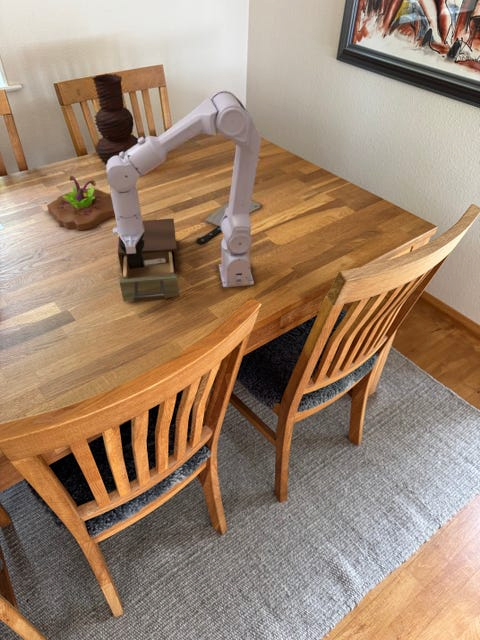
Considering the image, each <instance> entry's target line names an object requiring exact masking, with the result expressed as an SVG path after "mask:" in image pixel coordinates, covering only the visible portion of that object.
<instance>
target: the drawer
mask: <svg viewBox="0 0 480 640" xmlns="http://www.w3.org/2000/svg"><path fill="white" fill-rule="evenodd" d="M142 255H143V259H144V261H146V260H154V259H161V258H164V259H165V260H166V262H165V263H164V264H158V265H150V266H144V267H141V268H134V269H129V266H128V262H127V255H124V265H123V276H122V279H119V287H120V291H121V296H122V301H123V302H126V301H127V302H128V301H134V302H141V301H151V300H162V299H166V298H170V297H179V296H180V293H179V284H178V282H179V281H178V274H175V272H174V267H173V257H172V251H170V252H157V253H145V254H142Z"/></svg>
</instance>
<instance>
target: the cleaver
mask: <svg viewBox="0 0 480 640" xmlns="http://www.w3.org/2000/svg"><path fill="white" fill-rule="evenodd" d="M228 206H229V201H228V202H226V203H224V204H223V205H222V206H220V207H219V208H218V209H216V210H215V211H214V212H213V213H212V214H210V215H209V216H207V218H205V219H204V221H205V222H207V223H210V224H212V225H214V226H215V228H213V229H212V230H211V231H210V232H208V233H206V234H204V235H203V236H201V237H197V238H196V240H195V241H196V242H195V243H197V244H198V245H205V244H206V243H207V242H209V241H210V240H211V239H212V238H214V237H215V236H217V235H218V234H219V233H222V231H221V229H220V221H221V219H222V218H223V216H224V214H225V209H226V208H228ZM259 209H261V204H260V203H258V202H257V201H254V200H251V206H250V212H249V214H251V213H253V212H256V211H257V210H259Z"/></svg>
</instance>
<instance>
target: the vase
mask: <svg viewBox="0 0 480 640" xmlns="http://www.w3.org/2000/svg"><path fill="white" fill-rule="evenodd" d="M91 79H92V80H93V84H94V87H95V92H96V95H97V99H98V103H99V104H98V107H100V108H99V109H98V111H97V112H96V113H95V115H94V118H95V120H94V122H95V123H94V124H95V125H96V128H97V129H98V130H97V132H99V134H100V135H101V136H102V137H101V138H99V139H98V142H97V143H96V147H95V149H96V153H97V156H98V158H99V159H100V160H101V163H103V164H104V165H105V166H106V165H107V163H108V160H109V159H110V158H111V157H113V156H116V155H117V156H119V153H121V152H122V151H123V152H124V153H125V152H126V151H127V150H129V149H130V148H132V147H133V146H135V145H136V144H138V139H139V138H138V137H137V136H135V135H134V134H132V133H133V130H134V125H135V124H134V116H133V115H132V112H131V111H130V110H129V108H127V107H125V105H124V97H123V86H122V80H123V77H122V76H121V75H118V74H116V73H114V74H113V73H104V74H99V75H96V76H93V77H92V78H91Z"/></svg>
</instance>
